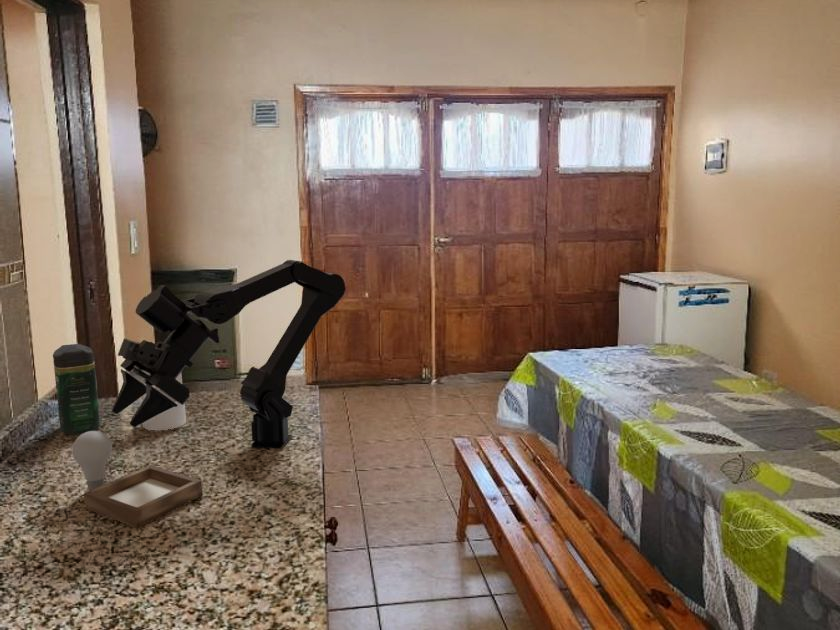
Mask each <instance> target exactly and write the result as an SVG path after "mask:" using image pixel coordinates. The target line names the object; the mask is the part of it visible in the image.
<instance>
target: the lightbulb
mask: <svg viewBox="0 0 840 630" xmlns="http://www.w3.org/2000/svg"><path fill="white" fill-rule="evenodd" d="M112 444H113V443H112V441H111V439H110V438H109V437H108V435H106V433H103V432H101V431H98V430H91V431H88V432H85V433H83V434H79V436H78V437H77V438H76V439H75V440H74V442H73V444H72V452H71V453H72V456H73V458H74V460H75V462H77V464H78V465H79V466H80V468H81V470H82V471H83V474H84V479H85V480H86V483H87V484H86V485H87V488H88V491H90V490H93V489H95V488H97V487H100V486H102V485H105V476H106V466H107V463H108V460H109V458H110V456H111V453H112V451H113V446H112Z"/></svg>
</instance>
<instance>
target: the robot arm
mask: <svg viewBox="0 0 840 630" xmlns="http://www.w3.org/2000/svg"><path fill="white" fill-rule="evenodd" d="M294 283H295V284H297V285H299V287H302V288H303V289H302V292H301V304H300V306H299V308H298V309H297V311H296V313H295V314H294V316H293V318H292V320H291V321H290V322H289V324H288V326H287V328H286V329H285V331H284V333H283V335H282V336H281V338H280V339H279V340H278V343H277V344H276V346H275V348H274V349H273V350H272V353H271V354H270V356H269V358H268V359H267V361H266V362H265V363H264V364H263V365H262V366H260V367H259V368H257V367H255V366H251V367H250V368H249V370H248V373H247V374H246V377H245V378H244V379H243V380H242V381H241V382H240V385H242V386H241V388H240V389H239V394H240V399H241V400H242V403H243V404H244V405H246V406H247V407H248V408H249V411H250V412H251V413H254V414H253V416H252V421H251V423H250V426H251V428H250V429H251V441H253V442H252V443H251V444H250V446H251V448H263V449H282V448H283V447H285V445H287V443H288V442H289V441H290V440H291V439H292V435H291V434H289V419H288V418H289V417H291V416H292V411H293V408H294V407H293V405H292V404H291V403H289V402H288V401H286V399H284V398H283V397H284V394H285V391H286V386H287V385H286V384H287V376H288V373H289V372H290V370H291V368H292V366H294V363H295V362H296V360H297V358H298V356H299V355H300V353H301V352H302V350H303V348H304V346H305V345H306V343H307V342H308V339H309V338H310V336H311V335H312V333H313V331H314V330H315V328H316V326H317V324H318V323H319V321H320V319H321V318H322V317H323V315H325V314H327V313H328V312H329V311H331V310H333V308H335V307H336V305H337V304H338V303H339V302H340V301H341V300H342V298H343V296H344V295H345V293H346V289H347V287H346V284H345V280H344V278H343V277H342V276H341V275H339V274H337V273H332V272H326V271H322V270H319V269H317V268H315V267H313V266H310V265H308V264H306V263H305V262H303V261H300V260H294V259H286V260H285V261H284V262H283V263H281V264H278V265H277V266H273V267H272V268H269V269H267V270H265V271H263V272H261V273H260V272H259V273H258V274H256V275H254V276H252V277H249V278H246V279H244V280H242V281H241V282H240V281H239V282H238V283H235V284H231V285H225V286H218V287H217V286H216V287H213V288H209V289H205V290H201V291H200V292H198V293H197V294H196V295H195V296H194V297H193V298H192V297H191V298H189V299H184V300H181V299H180V298H179V297H177V296H176V295H175V294H174V293H173V291H171V289H170V288H169V287H168V286H166V285H162V284H160V285H159V286H158V287H157V289H155V290H153V291H151V292H149V294H147V295H146V296H144V297H142V299H141V300H140V301H139V302H138V303H137V306H136V308H135V314H136V315H138V317H140V318H141V319H142V320H144V321H145V322H147V323H148V324H149V325H150V326H151V327H153V328H154V329H155V330H157V331H158V332H159V333H162V334H164V333H167V332H169V333H170V334H169V335H168V336H167V338H165V340H164V341H160V340H159V341H157V342H155V343H154V342H152V341H148V340H146V339H143V340H142V341H136V340H132V339H130V338H129V339H128V338H123V340H122V343H121V345H120V348H119V350H118V353H117V356H119V357H121V356H122V358H123V359H124V361H122V362H121V364H120V365H119V366H120V367H121V369H120V373H121V376H122V380H123V382H122V385H121V388H120V390H119V392H118V394H117V397H116V400H115V402H114V404H113V405H112V409H111V411H112V413H114V414H116V415H117V414H120V412H123V410H125V409H126V408H128V407H130V406H131V405H132V404H133V403H135V402H136V401H138V400H139V399H141V396H143V395H144V394H146V397H145V399H144V400H143V402H142V403H141V402H140V405H139V407H138V408H137V409H136V412H135V413H134V414H133V415H132V418H131V420H130V422H129V425H130V426H132V427H133V428H136V427H137V426H140V425H143V422H145V421H147V420H149V419H151V418H153V417H154V416H156V415H158V414H160V413H162V412H164V411H166V410H168V409H170V408H172V407H177V406H178V405H177V404H176V403H175V402H178V403H180V404H182V405H183V404H184V403H186V402H187V401H188V399H189V398H190V389H189V388H188V386H187V387H186V385H184V384H183V383H182V384H181V383H180V382H178V381H177V380H176V378H177V377H178V375H179V374H180V373H182V372H183V370H184V369H185V368H189V369H191V367H192V366H193V365H194V363H193V362H192V359H193V358H194V356H195V355H196V354H197V353H198V351H200V349H201V348H202V346H203V345H204V344H205V343H206V341H210V342H212V343H215V344H219V343H220V337H219V329H218V328H217V327H214V326H212V327H210V326H208V325H207V324H205V322H203V321H206V322H209V323H212V324H216V325H222V324H225V323H227V322H229V321H230V320H231V319H233V318H234V317H236V316H237V315H238V314H240V313H241V312H242V311H243V309H244V308H245V307H246V306H249V304H250V303H253V302H255V301H257V300H259V299H261V298H264V297H266V296H268V295H270V294H273V293H274V292H276V291H278V290H281V289H282V288H285V287H288V286H290V285H292V284H294ZM187 314H188V315H191V316H193V317H198V318H199V319H197V318H196V319H194V320H193V319H192V318H190V317H189V316H188V315H187ZM202 320H203V321H202ZM122 368H123V369H122ZM144 384H146V386H145V385H144ZM153 385H155V386H156V387H155V388H153V387H152V386H153Z"/></svg>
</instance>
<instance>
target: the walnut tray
mask: <svg viewBox="0 0 840 630" xmlns="http://www.w3.org/2000/svg"><path fill="white" fill-rule="evenodd" d="M83 496H84V497H83V498H84V508H85V510H87V509H88V511H89V510H91V511H90V512H92V511H93V513H95V512H96V513H95V514H97V513H98V514H97V515H100V514H101V516H103V515H104V517H105V516H107V517H106V518H108V517H110V518H109V519H111V518H112V519H111V520H113V519H115V520H114V521H116V520H118V521H117V522H119V521H120V522H119V523H121V522H123V523H122V524H124V523H126V524H125V525H127V524H128V525H127V526H129V525H131V526H130V527H132V526H133V527H132V528H135V529H140V528H141V527H143V526H145V525H148V524H149V523H151V522H153V521H154V520H157V519H159V518H161V517H164V516H165V515H167V514H168V512H169V513H171V512H173V511H175V510H177V509H179V508H181V507H184V506H185V505H187V504H189V503H190V502H189V501H191V502H193V501H194V499H195V500H197V499H199V498H201V497H203V484H202V480H201V479H198V478H195V477H191V476H188V475H185V474H181V473H177V472H176V471H172V470H168V469H166V468H165V469H164V468H162V467H158V466H155V465H152V464H151V465H148V466H146V467H143V468H140V469H139V470H136V471H133V472H132V473H128V474H127V475H123V476H121V477H119V478H117V479H114V480H112V481H109V482H107V483H104V485H102V486H100V487H97V488H95V489H93V490H90V491H89V490H88V491H86V492H84V493H83ZM200 496H201V497H200ZM198 497H199V498H198ZM196 498H197V499H196ZM192 500H193V501H192ZM188 502H189V503H188ZM186 503H187V504H186ZM184 504H185V505H184ZM180 506H181V507H180ZM178 507H179V508H178ZM176 508H177V509H176ZM172 510H173V511H172ZM170 511H171V512H170Z"/></svg>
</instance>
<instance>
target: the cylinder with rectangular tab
mask: <svg viewBox="0 0 840 630" xmlns="http://www.w3.org/2000/svg"><path fill="white" fill-rule="evenodd" d="M182 375H183V374H182V372H181V373H180V374H179V375H178V377H177V378H176V380H177V381H178V382H180V383H181V384H182V385H183V376H182ZM144 385H145V386H146V384H144ZM152 387H153V388H155V387H156V386H155V385H153V386H152ZM145 397H146V394H144V395H143V396H141V397H140V404H141V403H142V402H143V400H144V399H145ZM175 403H176V404H177V405H178V406H177V407H172V408H170V409H168V410H166V411H164V412H162V413H160V414H158V415H156V416H154V417H153V418H151V419H149V420H147V421H145V422H143V423H142V428H143V429H144V428H145V430H146V429H147V431H150V430H164V431H169V430H170V429H171V430H174V428H175V429H178V428H180V427H182V426H184V425H185V424H186V422H187V417H186V406H185V405H186V404H185V403H186V402H185V403H184V404H183V405H182V404H180V403H178V402H175ZM168 429H169V430H168Z"/></svg>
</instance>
